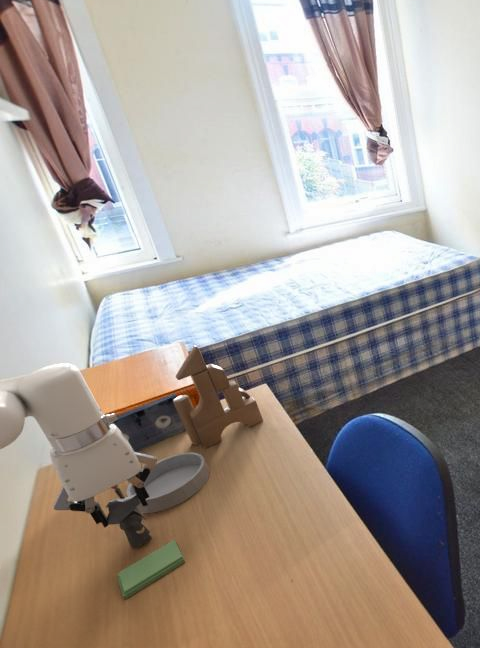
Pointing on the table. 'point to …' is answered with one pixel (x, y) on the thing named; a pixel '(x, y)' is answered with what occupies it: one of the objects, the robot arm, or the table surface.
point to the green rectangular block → (149, 569)
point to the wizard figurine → (128, 518)
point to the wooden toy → (212, 402)
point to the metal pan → (173, 481)
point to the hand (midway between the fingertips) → (125, 511)
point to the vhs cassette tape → (150, 423)
